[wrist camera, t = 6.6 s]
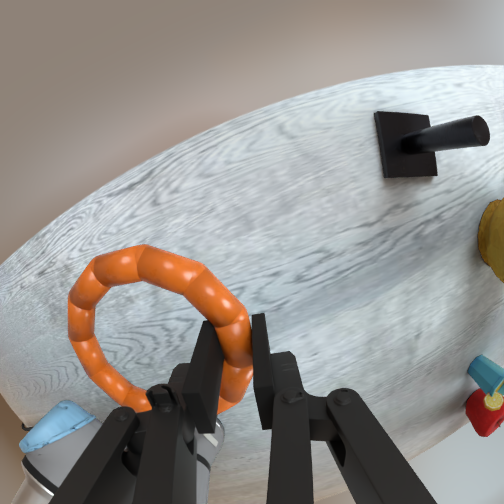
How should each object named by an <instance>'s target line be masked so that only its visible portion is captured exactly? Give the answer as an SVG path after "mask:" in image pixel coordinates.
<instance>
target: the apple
mask: <svg viewBox="0 0 504 504" xmlns="http://www.w3.org/2000/svg"><path fill="white" fill-rule="evenodd" d="M485 396H486V394H485V393H484V392H483V390H482V389H478V390H476V391H475V392H474V393H473V394H472V395H471V396H470V397H469V399H468V400H467V404H466V415H467V416H468V418H469V420H470V421H471V423H472V425H473V427H474V429H475V431H476V432H477V433H478V435H479V436H482V437H487V436H489V435H490V434H491V433H492V432H494V431H495V430H496V429H497V428H498V427H500V425H501V423H502V422H503V421H504V402H503V404H502V406H501V408H500V409H498V410H495V411H491V410H489V409H487V408H485V406H484V403H483V399H484V398H485ZM503 399H504V397H503Z"/></svg>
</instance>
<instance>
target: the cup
mask: <svg viewBox="0 0 504 504" xmlns="http://www.w3.org/2000/svg"><path fill="white" fill-rule="evenodd" d="M468 373H469V374H470V376H471V377H472V378H473V379H474V380H475V382H476V383H477V384H478V385H479V387H480V388H481V389H482V390H483V392H484V393H485V394H486V396H485V398H484V399H483V403H484V406H485V408H487V409H489V410H491V411H495V410H498V409H500V408H501V406H502V404H503V402H504V399H503V395H504V369H503V368H502V367H500V366H498V365H497V364H495V363H494V362H492V361H491V360H489V359H488V358H486V357H484V356H483V355H480V356H478V357H476V358H475V359H474V361H473V362H472V363H471V364H470V367H469V370H468Z"/></svg>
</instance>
